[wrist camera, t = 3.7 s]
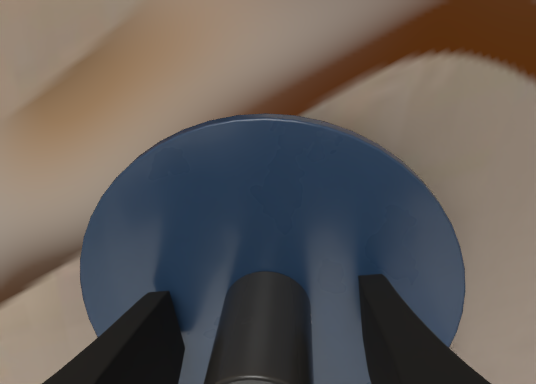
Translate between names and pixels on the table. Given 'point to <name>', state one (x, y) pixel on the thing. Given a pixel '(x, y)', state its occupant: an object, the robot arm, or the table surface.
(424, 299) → the cover
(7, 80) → the table surface
